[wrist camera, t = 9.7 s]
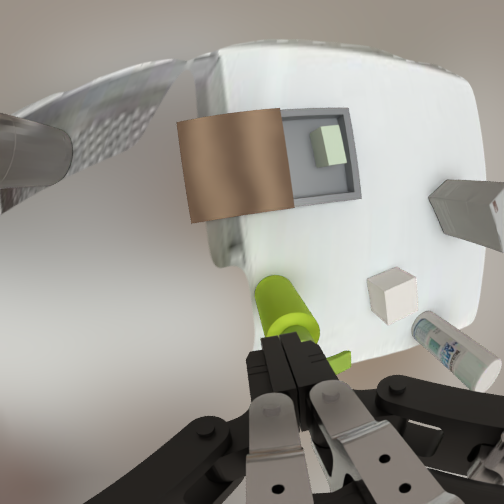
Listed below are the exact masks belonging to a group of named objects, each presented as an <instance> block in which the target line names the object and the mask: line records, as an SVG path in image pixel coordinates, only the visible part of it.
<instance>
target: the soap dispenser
mask: <svg viewBox="0 0 504 504" xmlns="http://www.w3.org/2000/svg"><path fill="white" fill-rule="evenodd" d="M255 300H256V304H257V308H258V312H259V316H260V320H261V323H262V327H263V331H264V335H265V337H270V336H276V335H278V337H279V335H280V334H286V333H291V332H297V334H298V336H299V338H300V340H301V342H304V341H309V340H311V341H313V342H314V343H316V344H317V342H318V340H319V336H320V329H319V325H318V323H317V321H316V320H315V318H314V317H313V315H312V314H311V312H310V311H309V309H308V308H307V306H306V305H305V303H304V302H303V300H302V299H301V297H300V296H299V294H298V293H297V291H296V290H295V288H294V287H293V285H292V284H291V282H290V281H289V280H288V279H286V278H285V277H283V276H279V275H273V276H269V277H266V278H264V279H263V280H262V281H261V282H260V283H259V284H258V285H257V287H256V290H255ZM326 359H327V360H328V362H329V364H330V365H331V367H332V369H333V371H334V372H335V374H336V375H337V374H339V373H341V372H343V371H345V370H347V369H349V368H350V367H351V351H343V352H341V353H339V354H336V355H334V356H331V357H328V358H326Z"/></svg>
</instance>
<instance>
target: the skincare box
mask: <svg viewBox="0 0 504 504" xmlns="http://www.w3.org/2000/svg"><path fill="white" fill-rule="evenodd" d="M428 198H429V200H430V202H431V204H432V206H433V208H434V211H435V213H436V215H437V217H438V220H439V222H440V224H441V227H442V229H443V231H444V234H447V235H450V236H453V237H457V238H460V239H463V240H466V241H470V242H473V243H476V244H479V245H482V246H485V247H488V248H491V249H494V250H497V251H499V252H502V253H504V182H490V181H472V180H446V181H445V182H444V183H443V184H442V185H441V186H440V187H439V188H438V189H437V190H436V191H434V192H433V193H432V194H431V195H430V196H429V197H428Z"/></svg>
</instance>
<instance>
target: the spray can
mask: <svg viewBox="0 0 504 504" xmlns="http://www.w3.org/2000/svg"><path fill="white" fill-rule="evenodd" d="M412 335H413V337H414V338H415V339H416V340H417V341H418V342H419V343H420V344H421V345H422V346H424V347H425V348H426V349H427V350H428V351H429V352H430V353H431V354H432V355H433V356H435V357H436V358H437V359H438V360H439V361H440V362H441V363H442V364H443V365H444V366H445V367H446V368H448V369H449V370H450V371H451V372H452V373H453V374H454V375H455V376H456V377H457V378H458V379H459V380H461V382H462V383H464V384H465V385H466V386H467V387H468V388H469V389H470V390H471V391H477V392H482V393H484V392H485V391H486V390H487V389H488V388H489V387H490V386H491V385H492V384H493V382H494V381H495V379H496V378H497V376H498V374H499V372H500V369H501V365H502V362H501V359H499V358H498V357H497V356H496V355H494V354H493V353H491V352H490V351H489V350H487V349H486V348H484V347H483V346H482V345H480V344H479V343H477V342H476V341H474V340H473V339H472V338H470V337H469V336H467V335H466V334H464V333H463V332H461V331H460V330H458V329H457V328H456V327H454V326H453V325H451V324H450V323H448V322H447V321H445V320H444V319H442V318H441V317H439V316H438V315H436V314H435V313H433V312H431V311H425V312H423V313H422V314H420V315H419V316H418V317H417V318H416V320H415V322H414V324H413V326H412Z"/></svg>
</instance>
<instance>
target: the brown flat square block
mask: <svg viewBox="0 0 504 504" xmlns="http://www.w3.org/2000/svg"><path fill="white" fill-rule="evenodd" d="M177 129H178V137H179V145H180V153H181V160H182V167H183V174H184V180H185V187H186V194H187V200H188V206H189V212H190V218H191V223H197V222H204V221H210V220H216V219H222V218H228V217H235V216H241V215H248V214H254V213H261V212H268V211H275V210H282V209H289V208H295V206H294V198H293V191H292V183H291V176H290V169H289V162H288V155H287V148H286V142H285V135H284V129H283V123H282V117H281V111H280V108H274V109H263V110H253V111H244V112H236V113H228V114H221V115H215V116H208V117H202V118H197V119H191V120H186V121H181V122H177Z"/></svg>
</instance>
